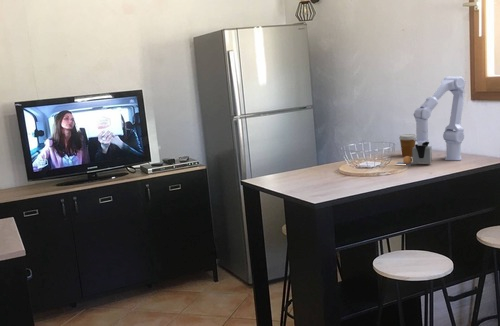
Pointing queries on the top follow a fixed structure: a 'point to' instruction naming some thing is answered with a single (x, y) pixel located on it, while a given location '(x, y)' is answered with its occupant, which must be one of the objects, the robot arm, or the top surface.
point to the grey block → (427, 155)
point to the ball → (407, 160)
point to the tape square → (404, 163)
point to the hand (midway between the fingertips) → (422, 156)
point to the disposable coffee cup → (407, 144)
